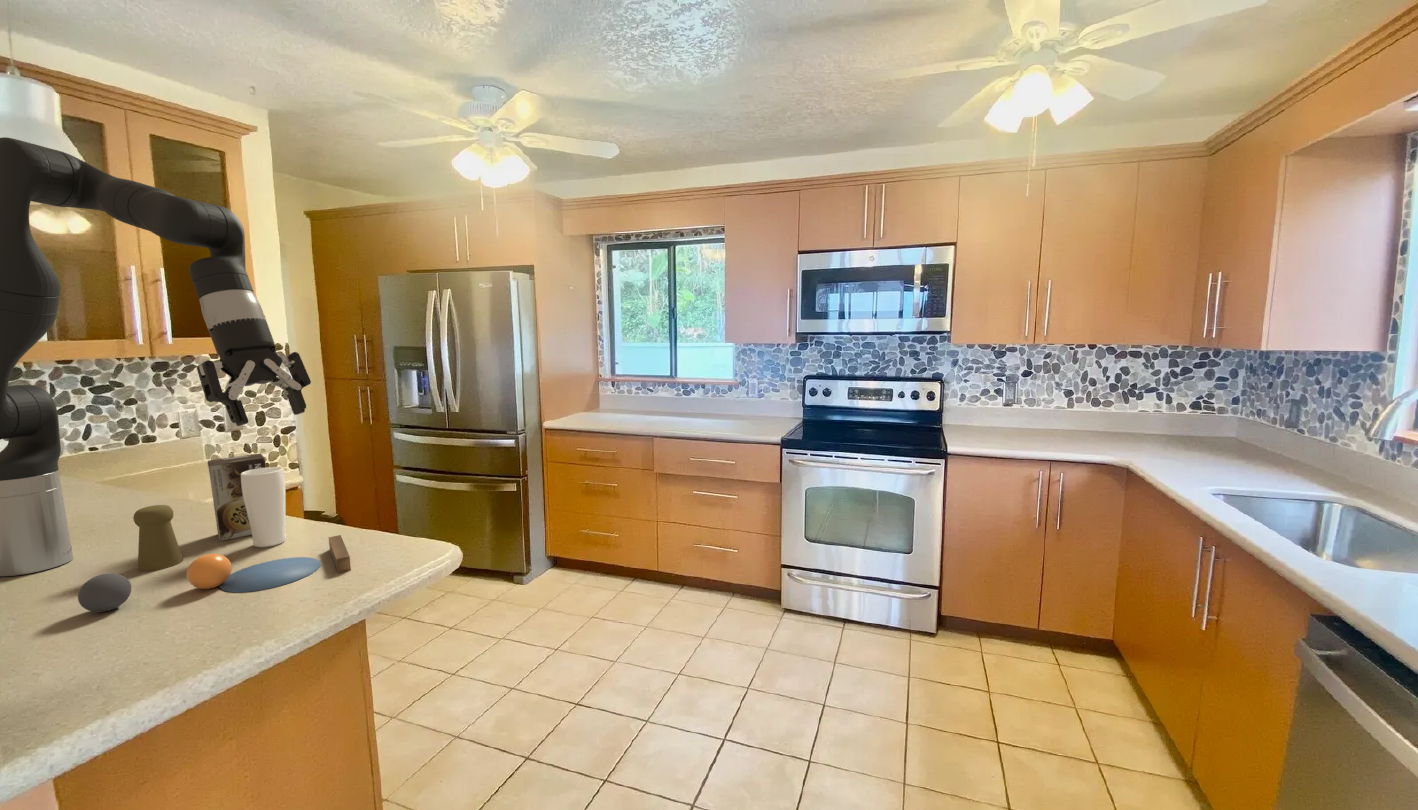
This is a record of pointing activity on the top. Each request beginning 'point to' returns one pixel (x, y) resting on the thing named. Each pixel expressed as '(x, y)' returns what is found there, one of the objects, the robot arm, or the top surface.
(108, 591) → the gray ball
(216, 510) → the coffee box
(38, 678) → the top surface
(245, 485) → the drinking glass
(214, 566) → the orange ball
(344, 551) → the brown bar
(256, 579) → the blue flat round disc
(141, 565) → the cork
